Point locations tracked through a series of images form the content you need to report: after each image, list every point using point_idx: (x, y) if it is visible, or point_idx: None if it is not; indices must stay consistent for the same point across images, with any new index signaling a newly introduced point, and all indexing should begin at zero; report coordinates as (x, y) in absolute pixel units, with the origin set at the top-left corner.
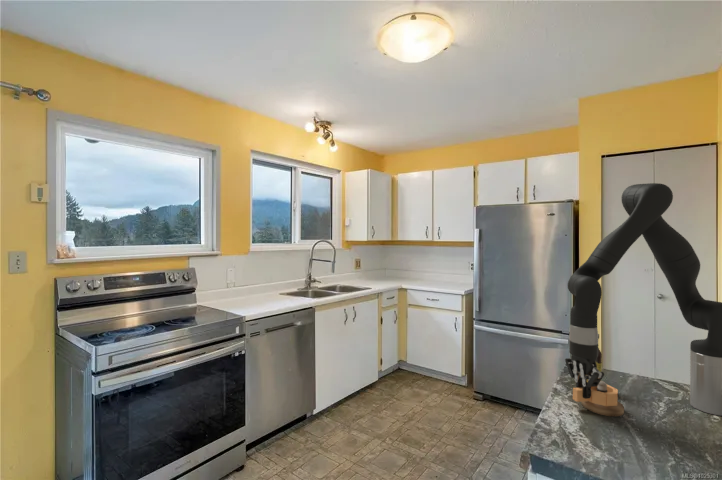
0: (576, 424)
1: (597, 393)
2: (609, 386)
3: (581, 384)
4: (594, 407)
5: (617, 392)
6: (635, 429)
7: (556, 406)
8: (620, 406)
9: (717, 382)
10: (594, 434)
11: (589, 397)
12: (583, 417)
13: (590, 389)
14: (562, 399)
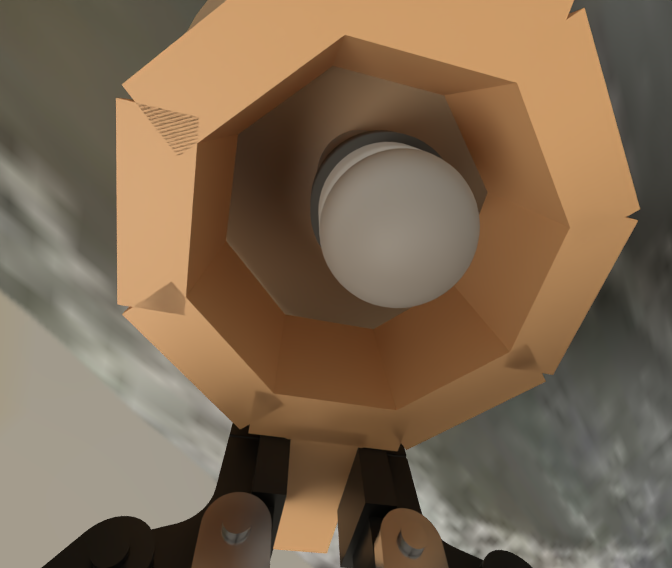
0: (424, 497)
1: (454, 415)
2: (418, 8)
3: (280, 515)
4: None
5: (623, 158)
6: (657, 268)
7: (224, 450)
8: None
9: None
10: (523, 494)
11: None
12: None
13: (412, 498)
14: (134, 344)
